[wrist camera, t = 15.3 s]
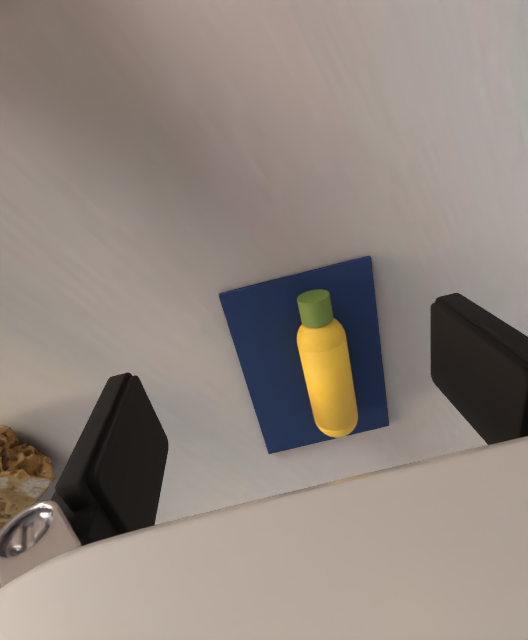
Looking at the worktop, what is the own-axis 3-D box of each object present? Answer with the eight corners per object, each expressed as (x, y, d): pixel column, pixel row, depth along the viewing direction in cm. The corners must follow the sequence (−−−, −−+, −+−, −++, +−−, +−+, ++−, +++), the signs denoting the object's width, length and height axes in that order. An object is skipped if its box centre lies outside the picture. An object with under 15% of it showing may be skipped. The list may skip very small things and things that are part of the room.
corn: (278, 299, 31) (307, 312, 28) (317, 281, 33) (350, 291, 29) (309, 430, 38) (336, 454, 34) (340, 410, 39) (369, 431, 36)
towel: (268, 450, 41) (268, 454, 40) (219, 293, 32) (218, 295, 32) (387, 422, 40) (389, 425, 40) (368, 255, 32) (371, 257, 31)
